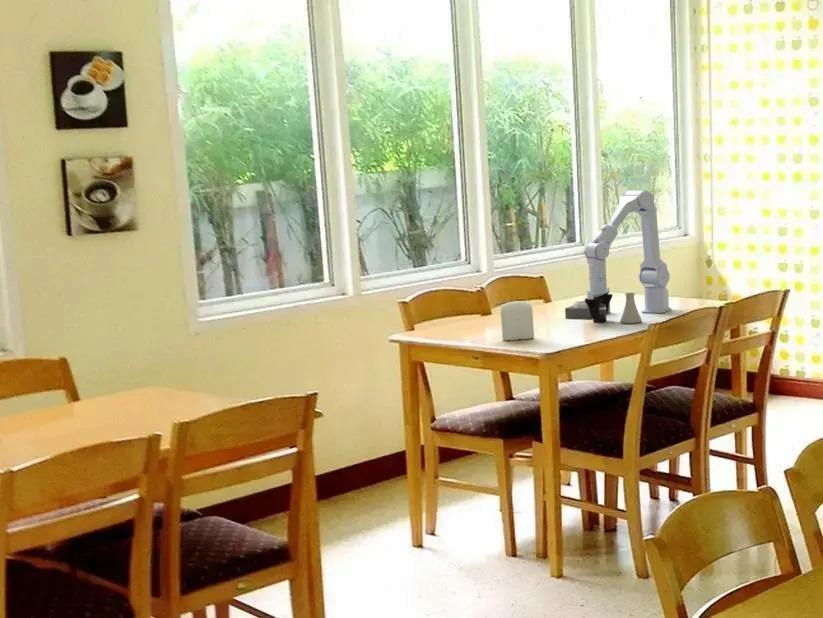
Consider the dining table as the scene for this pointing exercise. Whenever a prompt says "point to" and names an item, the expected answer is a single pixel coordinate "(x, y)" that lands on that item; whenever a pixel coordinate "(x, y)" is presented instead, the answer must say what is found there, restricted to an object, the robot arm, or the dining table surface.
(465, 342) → the dining table surface
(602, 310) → the lens
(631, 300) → the flask
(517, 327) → the white rounded slab
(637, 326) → the dining table surface
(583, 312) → the camera body
